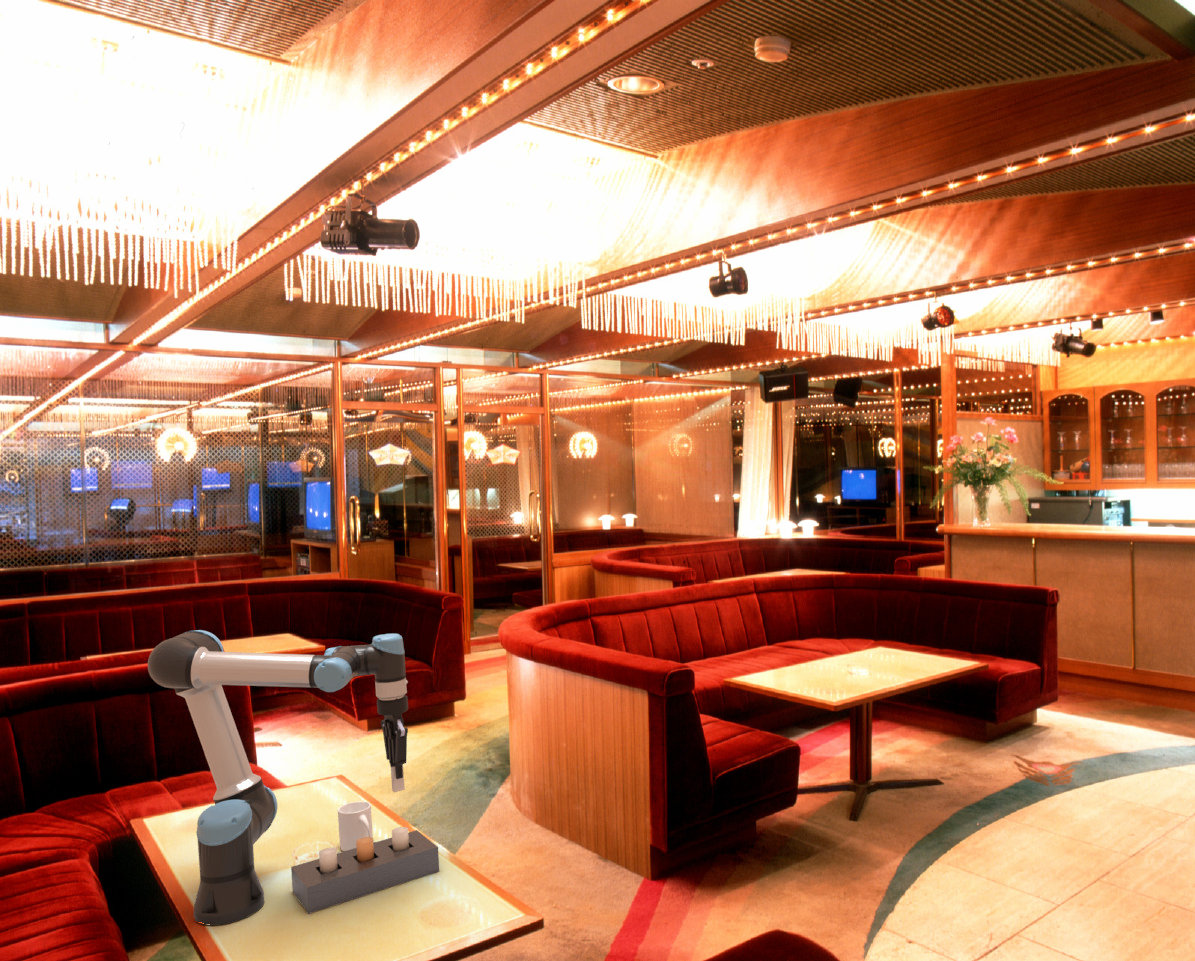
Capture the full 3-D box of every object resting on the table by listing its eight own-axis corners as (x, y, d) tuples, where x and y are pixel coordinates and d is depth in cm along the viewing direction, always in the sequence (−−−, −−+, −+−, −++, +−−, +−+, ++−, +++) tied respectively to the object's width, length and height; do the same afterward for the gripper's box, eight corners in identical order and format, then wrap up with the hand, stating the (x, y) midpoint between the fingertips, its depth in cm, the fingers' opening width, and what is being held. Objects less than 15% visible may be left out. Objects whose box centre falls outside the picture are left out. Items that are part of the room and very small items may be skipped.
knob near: (322, 877, 200) (321, 856, 200) (318, 871, 203) (316, 850, 203) (339, 872, 202) (338, 851, 202) (334, 866, 205) (333, 845, 205)
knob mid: (360, 865, 205) (359, 845, 205) (355, 860, 208) (354, 840, 208) (376, 861, 207) (375, 840, 207) (371, 855, 210) (369, 835, 210)
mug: (355, 859, 220) (353, 818, 221) (334, 847, 229) (332, 808, 229) (385, 848, 226) (382, 808, 226) (363, 837, 235) (361, 798, 235)
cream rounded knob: (396, 855, 210) (395, 834, 210) (390, 849, 213) (389, 829, 213) (411, 850, 212) (410, 830, 212) (405, 845, 215) (404, 825, 215)
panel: (308, 913, 193) (306, 887, 193) (292, 891, 204) (291, 866, 204) (439, 871, 211) (438, 846, 211) (418, 852, 222) (416, 830, 222)
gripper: (415, 697, 210) (422, 792, 209) (397, 689, 220) (403, 779, 220) (386, 703, 205) (393, 801, 205) (368, 695, 216) (375, 787, 216)
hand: (398, 790), depth 213 cm, fingers closed
